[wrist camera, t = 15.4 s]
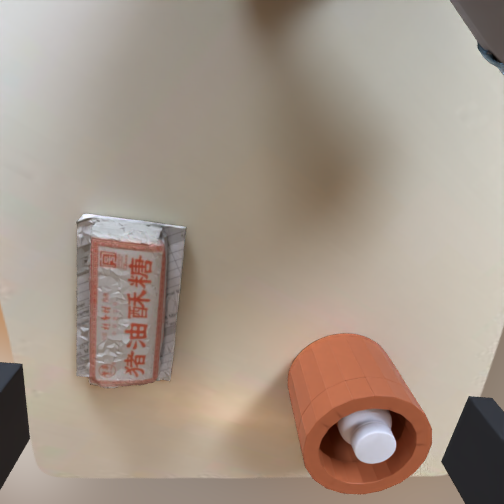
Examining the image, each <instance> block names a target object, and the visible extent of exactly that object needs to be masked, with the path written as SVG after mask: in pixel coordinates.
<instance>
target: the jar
mask: <svg viewBox="0 0 504 504" xmlns="http://www.w3.org/2000/svg"><path fill="white" fill-rule="evenodd" d="M288 389H289V395H290V400H291V405H292V409H293V414H294V418H295V423H296V428H297V432H298V437H299V441H300V446H301V451H302V455H303V460H304V464H305V467H306V469H307V470H308V472H309V473H310V475H311V476H312V478H313V479H314V480H315V481H317V482H318V483H319V484H321V485H322V486H324V487H325V488H327V489H331V490H333V491H337V492H340V493H346V494H367V493H372V492H378V491H382V490H384V489H387V488H389V487H392V486H394V485H396V484H398V483H401V482H402V481H403V480H405V479H406V478H408V477H409V476H410V475H412V474H413V473H414V472H415V471H416V470H417V469H418V468H419V467H420V465H421V464H422V463H423V462H424V461H425V459H426V457H427V455H428V452H429V450H430V447H431V445H432V428H431V426H430V423H429V421H428V419H427V417H426V415H425V413H424V412H423V410H422V408H421V407H420V405H419V404H418V402H417V401H416V399H415V397H414V396H413V394H412V393H411V391H410V389H409V388H408V386H407V385H406V383H405V382H404V380H403V378H402V377H401V375H400V374H399V372H398V370H397V369H396V367H395V366H394V364H393V363H392V361H391V359H390V358H389V356H388V355H387V353H386V352H385V351H384V350H383V349H382V348H381V346H380V345H378V344H377V343H376V342H374V341H373V340H371V339H369V338H367V337H364V336H361V335H357V334H345V333H343V334H335V335H330V336H327V337H324V338H321V339H319V340H317V341H315V342H313V343H311V344H310V345H308V346H307V347H306V348H305V349H303V350H302V351H301V352H300V353H299V355H298V356H297V357H296V358H295V360H294V362H293V363H292V365H291V368H290V370H289V374H288ZM367 409H385V410H389V413H390V415H391V418H392V427H391V431H392V434H393V436H394V438H395V441H396V449H395V451H394V453H393V454H392V456H390V457H389V458H388V459H387V460H385V461H382V462H380V463H375V464H369V463H364V462H362V461H360V460H359V459H358V458H357V457H356V455H355V453H354V451H353V448H352V445H351V444H349V443H347V442H346V441H345V440H344V439H343V438H342V436H341V434H340V432H339V430H338V427H337V424H336V422H338V421H339V420H340V419H342V418H343V417H346V416H348V415H350V414H352V413H355V412H357V411H362V410H367Z"/></svg>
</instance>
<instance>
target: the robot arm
mask: <svg viewBox="0 0 504 504" xmlns="http://www.w3.org/2000/svg"><path fill="white" fill-rule="evenodd" d="M450 1H451V3H452V4H453V6H454V7H455V9H456V10H457V12H458V13H459V15H460V16H461V18H462V19H463V21H464V22H465V24H466V25H467V26H468V28H469V29H470V31H471V32H472V34H473V35H474V37H475V38H476V40H477V44H478V49H479V51H480V52H481V54H482V56H483V57H484V58H485V59H486V60H487V61H488V62H489V63H491V64H493V65H494V66H496V67H498V69H499V70H500V71H501V73H502V74H503V75H504V0H450ZM29 439H30V435H29V425H28V415H27V405H26V395H25V386H24V376H23V366H22V364H17V363H2V362H0V489H1V488H2V486H3V484H4V482H5V481H6V479H7V477H8V476H9V474H10V472H11V470H12V469H13V467H14V465H15V463H16V462H17V460H18V458H19V456H20V455H21V453H22V451H23V450H24V448H25V446H26V444H27V443H28V441H29ZM441 462H442V464H443V465H444V467H445V469H446V471H447V472H448V474H449V476H450V478H451V479H452V481H453V483H454V485H455V486H456V488H457V490H458V492H459V493H460V495H461V497H462V498H463V501H464V502H465V504H504V411H503V410H502V409H501V408H500V407H499V406H498V405H497V403H496V402H495V401H494V400H493V398H485V397H484V398H483V397H471V396H469V397H468V400H467V402H466V404H465V407H464V409H463V411H462V414H461V416H460V418H459V421H458V423H457V426H456V428H455V430H454V433H453V435H452V437H451V440H450V442H449V444H448V447H447V449H446V452H445V454H444V456H443V459H442V461H441Z"/></svg>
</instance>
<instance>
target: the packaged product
mask: <svg viewBox="0 0 504 504" xmlns="http://www.w3.org/2000/svg"><path fill="white" fill-rule="evenodd" d="M186 228H187V227H183V226H176V225H169V224H163V223H156V222H150V221H140V220H131V219H123V218H116V217H108V216H100V215H92V214H83V215H82V217H81V218H80V219H79V220H78V221H77V374H76V375H77V376H84V377H89V383H90V385H91V384H92V385H97V386H100V387H103V388H117V387H119V386H130V385H137V384H138V385H144V384H148V383H152V382H154V381H160V380H167V381H170V378H171V370H172V363H173V355H174V346H175V332H176V320H177V313H178V305H179V297H180V289H181V287H180V282H181V277H182V268H183V258H184V242H185V235H186Z"/></svg>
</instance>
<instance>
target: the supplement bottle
mask: <svg viewBox="0 0 504 504" xmlns="http://www.w3.org/2000/svg"><path fill="white" fill-rule="evenodd" d="M336 424H337V427H338V430H339V432H340V434H341V436H342V438H343V439H344V440H345V441H346V442H347V443H349V444H351V445H352V448H353V451H354V453H355V455H356V457H357V458H358V459H359V460H360V461H362V462H364V463H369V464H375V463H380V462H382V461H385V460H387V459H388V458H389V457H390V456H392V454H393V453H394V451H395V449H396V441H395V438H394V436H393V434H392V431H391V427H392V418H391V415H390V413H389V410H385V409H367V410H362V411H357V412H355V413H352V414H350V415H348V416H346V417H343V418H342V419H340V420H339V421H338V422H336Z"/></svg>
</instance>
